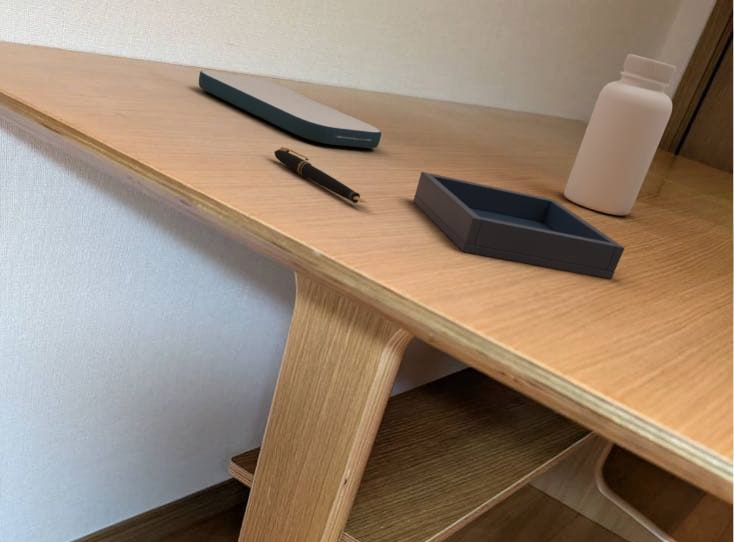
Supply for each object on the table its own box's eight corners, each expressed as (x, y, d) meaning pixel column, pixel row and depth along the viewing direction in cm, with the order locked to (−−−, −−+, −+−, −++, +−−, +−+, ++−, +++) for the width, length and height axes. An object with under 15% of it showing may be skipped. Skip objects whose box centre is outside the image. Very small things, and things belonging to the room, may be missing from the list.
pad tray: (544, 227, 78) (554, 199, 76) (611, 279, 67) (625, 247, 66) (412, 201, 74) (421, 171, 72) (462, 251, 63) (473, 217, 62)
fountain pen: (372, 213, 66) (376, 194, 66) (361, 212, 66) (365, 193, 65) (278, 159, 75) (281, 142, 74) (267, 158, 74) (270, 140, 73)
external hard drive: (186, 86, 96) (188, 67, 95) (264, 96, 103) (267, 79, 102) (310, 147, 83) (315, 126, 82) (389, 154, 91) (394, 134, 89)
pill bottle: (589, 196, 99) (644, 57, 91) (641, 219, 94) (705, 74, 86) (547, 192, 94) (601, 45, 86) (600, 216, 90) (663, 62, 81)
